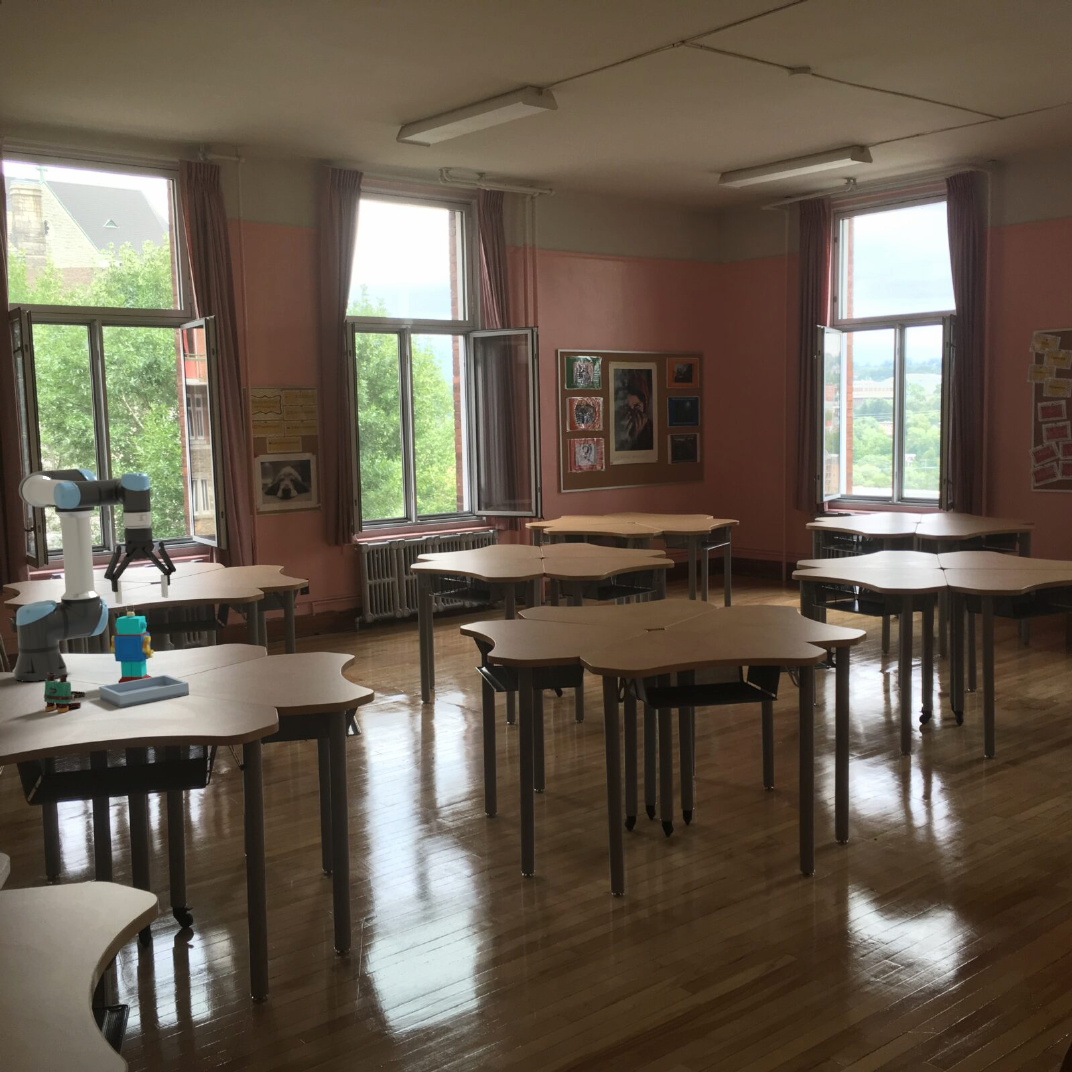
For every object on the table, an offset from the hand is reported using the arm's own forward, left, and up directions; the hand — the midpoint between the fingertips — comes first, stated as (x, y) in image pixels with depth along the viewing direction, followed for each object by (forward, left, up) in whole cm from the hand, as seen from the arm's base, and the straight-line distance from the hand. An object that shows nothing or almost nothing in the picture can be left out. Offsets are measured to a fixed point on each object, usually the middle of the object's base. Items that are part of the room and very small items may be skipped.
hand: (142, 600), depth 312 cm
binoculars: (-3, -22, -28) cm, 36 cm away
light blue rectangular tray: (+1, -1, -28) cm, 28 cm away
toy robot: (-15, +3, -28) cm, 32 cm away
